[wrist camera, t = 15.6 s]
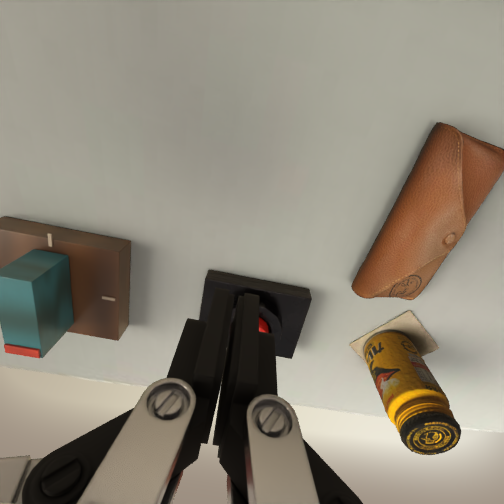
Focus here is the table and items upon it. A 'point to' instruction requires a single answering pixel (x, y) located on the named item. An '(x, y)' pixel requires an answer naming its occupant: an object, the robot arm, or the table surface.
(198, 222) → the table surface
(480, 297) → the table surface
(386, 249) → the sunglasses case
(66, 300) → the teal rectangular block
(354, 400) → the table surface
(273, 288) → the button box
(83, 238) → the base
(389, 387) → the condiment
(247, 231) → the table surface
